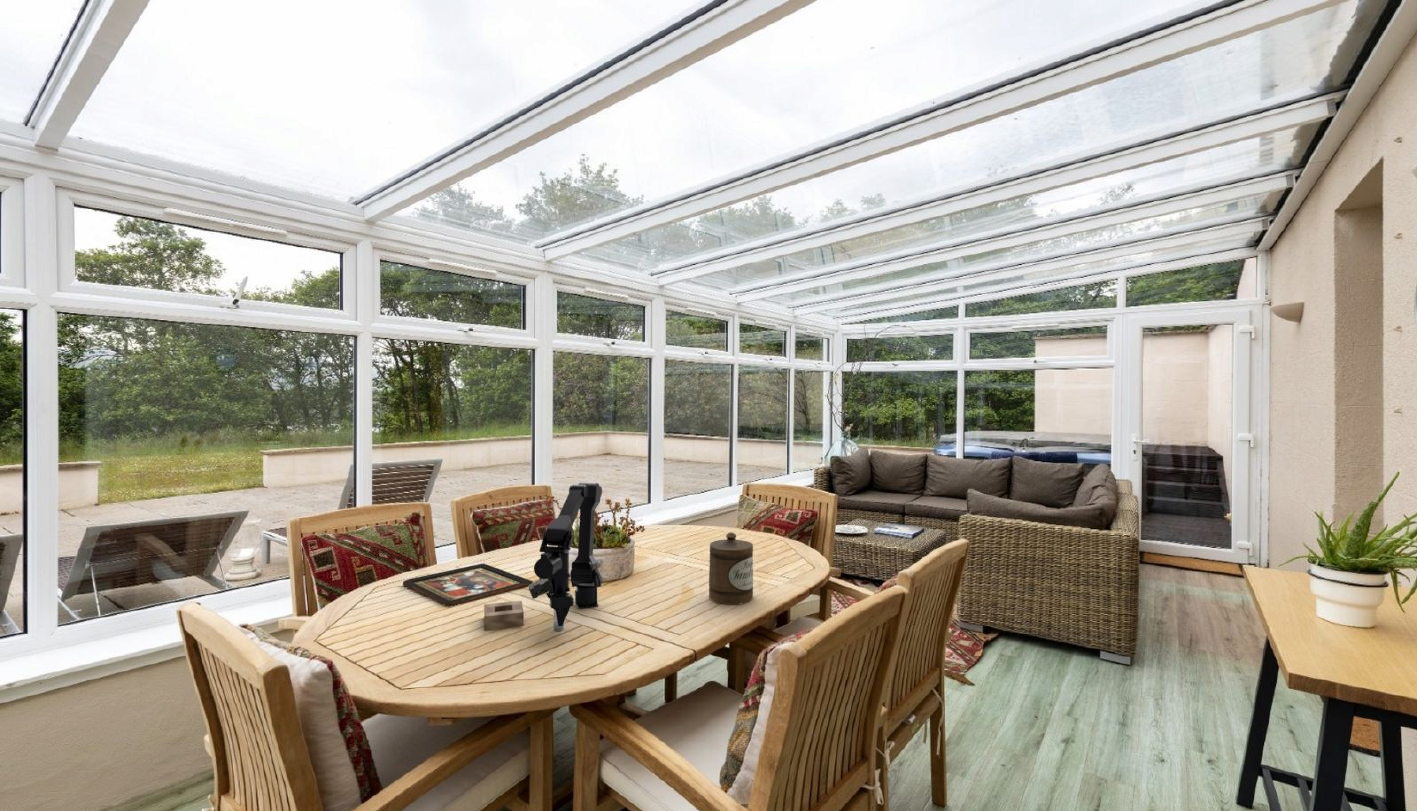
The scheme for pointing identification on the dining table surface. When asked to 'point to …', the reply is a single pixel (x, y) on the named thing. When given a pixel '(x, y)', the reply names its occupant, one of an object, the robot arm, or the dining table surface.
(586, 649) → the dining table surface
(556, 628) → the cylinder
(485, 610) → the square hollow frame
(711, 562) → the wooden container
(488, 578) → the framed icon painting
